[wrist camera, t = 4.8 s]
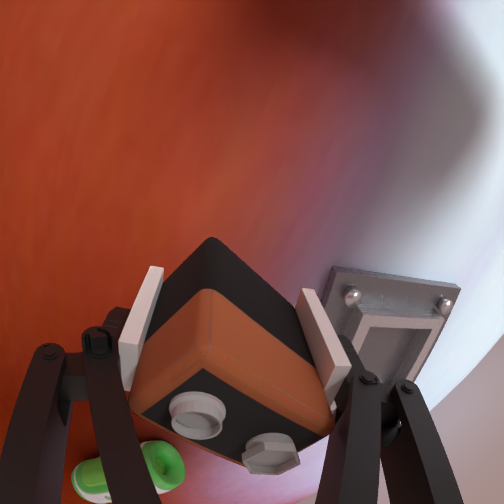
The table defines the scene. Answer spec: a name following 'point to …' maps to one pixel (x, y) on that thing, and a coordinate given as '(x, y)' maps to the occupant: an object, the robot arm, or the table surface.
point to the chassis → (388, 319)
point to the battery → (230, 366)
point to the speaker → (158, 462)
